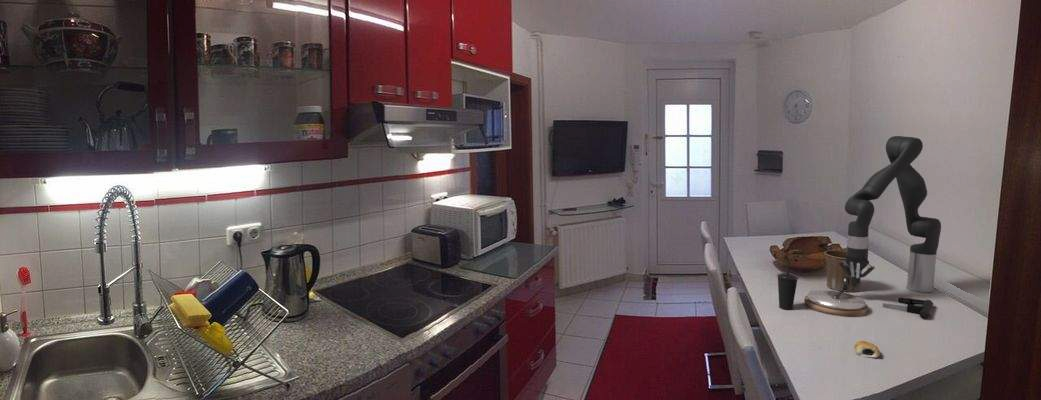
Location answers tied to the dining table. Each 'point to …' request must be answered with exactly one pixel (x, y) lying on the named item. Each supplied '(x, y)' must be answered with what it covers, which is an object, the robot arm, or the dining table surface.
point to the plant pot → (837, 270)
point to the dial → (837, 298)
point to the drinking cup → (786, 289)
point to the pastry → (867, 349)
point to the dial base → (836, 310)
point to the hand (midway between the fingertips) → (855, 285)
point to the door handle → (913, 306)
